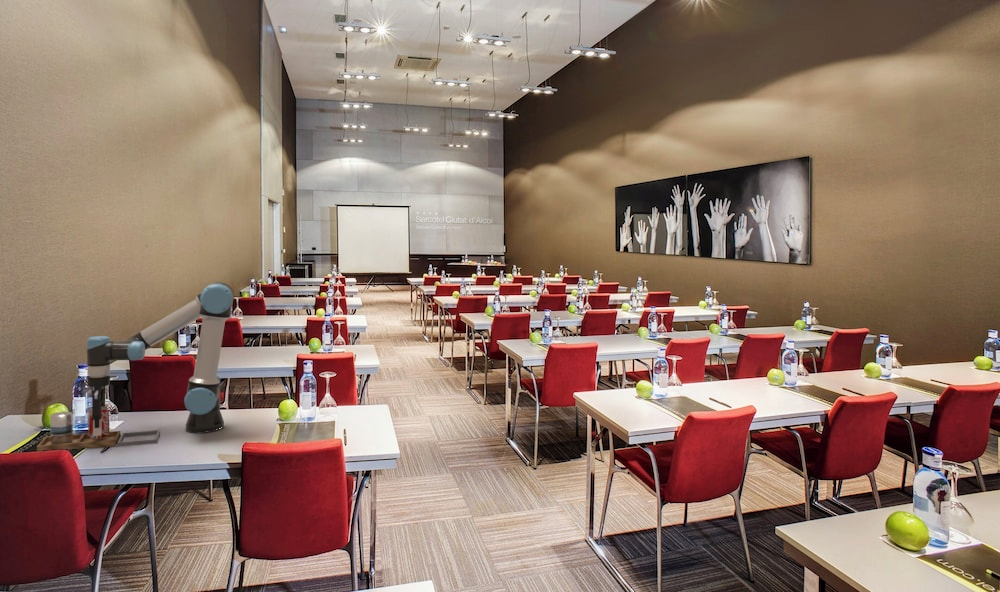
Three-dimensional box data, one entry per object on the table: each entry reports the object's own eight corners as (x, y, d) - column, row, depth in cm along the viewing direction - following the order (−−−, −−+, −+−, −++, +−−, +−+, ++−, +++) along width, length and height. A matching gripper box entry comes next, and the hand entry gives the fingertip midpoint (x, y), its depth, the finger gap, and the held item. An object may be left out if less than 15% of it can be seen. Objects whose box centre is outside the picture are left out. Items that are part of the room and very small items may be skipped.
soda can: (99, 441, 240) (98, 411, 239) (83, 439, 242) (83, 409, 241) (113, 436, 247) (113, 406, 246) (98, 434, 249) (98, 405, 248)
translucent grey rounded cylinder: (74, 441, 244) (74, 411, 243) (70, 446, 238) (70, 415, 237) (52, 442, 241) (52, 412, 240) (48, 448, 235) (48, 417, 234)
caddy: (120, 436, 253) (120, 430, 253) (116, 446, 241) (116, 440, 241) (45, 442, 243) (45, 436, 242) (36, 452, 231) (36, 446, 231)
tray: (159, 433, 259) (159, 430, 259) (157, 443, 247) (157, 439, 247) (122, 436, 254) (122, 432, 254) (117, 446, 241) (117, 442, 241)
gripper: (91, 371, 250) (92, 426, 252) (82, 381, 232) (83, 440, 234) (113, 370, 253) (113, 425, 255) (105, 380, 235) (106, 439, 237)
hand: (99, 432), depth 244 cm, fingers closed on soda can, 7 cm apart
